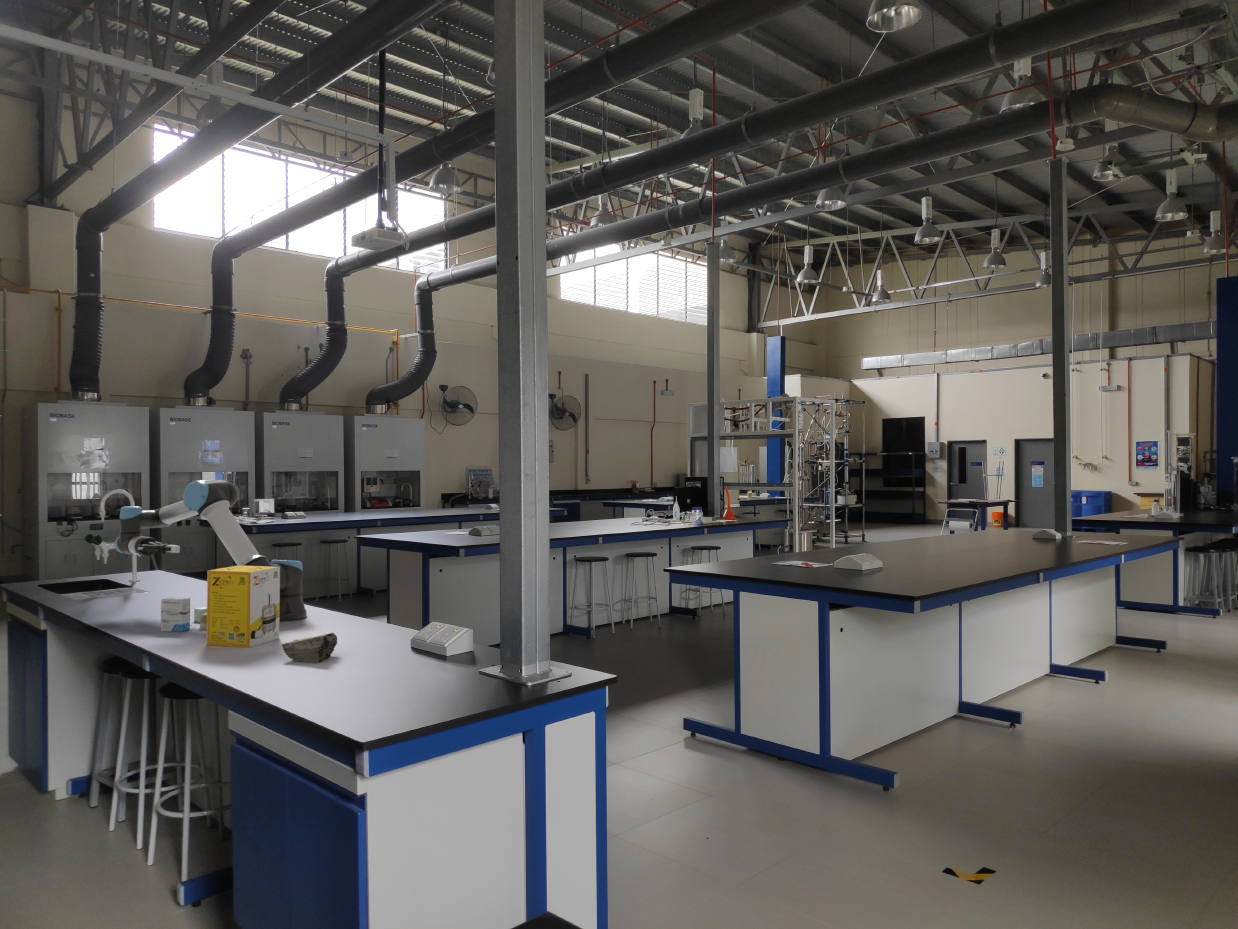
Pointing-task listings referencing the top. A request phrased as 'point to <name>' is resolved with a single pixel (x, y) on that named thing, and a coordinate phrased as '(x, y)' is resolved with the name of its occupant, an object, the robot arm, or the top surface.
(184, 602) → the ink box
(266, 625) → the packaging box
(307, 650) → the concrete fragment
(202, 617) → the birch cube
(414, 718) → the top surface
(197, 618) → the sage cube
